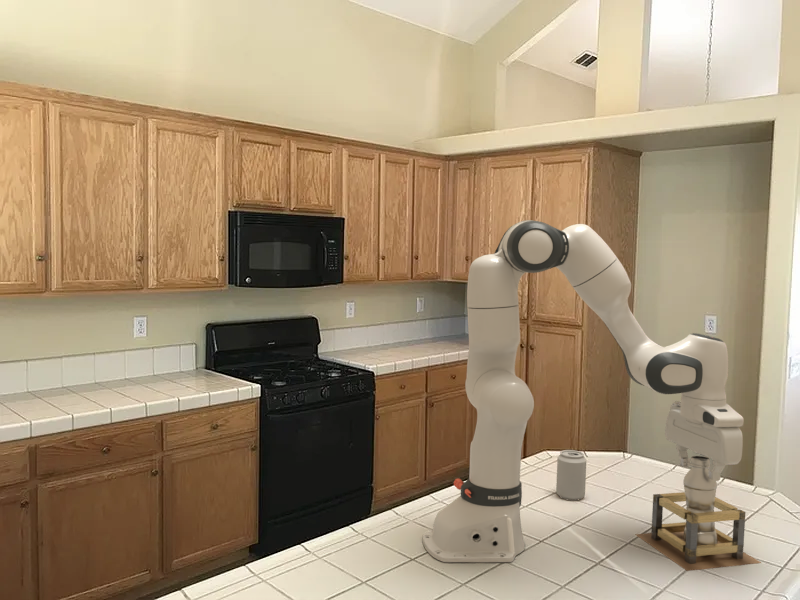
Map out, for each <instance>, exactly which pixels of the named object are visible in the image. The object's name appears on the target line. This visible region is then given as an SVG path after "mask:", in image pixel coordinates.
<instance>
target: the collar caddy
mask: <svg viewBox="0 0 800 600" xmlns="http://www.w3.org/2000/svg"><path fill="white" fill-rule="evenodd" d="M652 497H653V498H652V515H651V532H650V533H651V538H652V539H653V540H655V541H658V540H661V538H662V539H664V540H665V541H667V542H668V543H670V544H671V545H673V546H674V547H676V548H677V549H679V550H680V551H682V552H685V561H686V562H687V563H689V564H695V563H696V556H704V555H714V554H724V553H732V557H734V558H736V559H743V552H744V544H745V542H744V541H745V529H746V528H745V527H746V511H744V510H743V509H738V507H736V506H734V505H733V504H730V503H728V502H726V501H725V500H722V499H720V498H718V497H716V496H715V502H714V508H716V509H718V511H714V512H704V513H691V512H690V511H688V510H687V509H686V507H683V506H681V505H679V504H678V503H681V502H686V496H685V491H684V492H681V491H680V492H668V493H655V494H653V495H652ZM663 508H664V509H666V510H667V511H669V512H671V513H672V514H675V516H678V517H679V518H681V519H683V520H685V521H683V522H681V521H680V522H673V523H671V522H670V523H663V513H664V512H663V510H664V509H663ZM719 510H720V511H719ZM686 519H687V527H686V542H684V541H683V540H681V539H680V538H678V537H677V536H675V535H673V534H672V533H675V532H684V529H685V525H686ZM727 521H728V522H729V521H733V525H732V526H733V527H732V536H729V535H728V534H726V533H724V532H722V531H720V530H718V529H717V528H715V531H716V534H717V540H718V541H719V542H721V543H720V544H709V545H699V546H697V531H698V523H706V522H715V523H716V522H718V523H719V522H727Z"/></svg>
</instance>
